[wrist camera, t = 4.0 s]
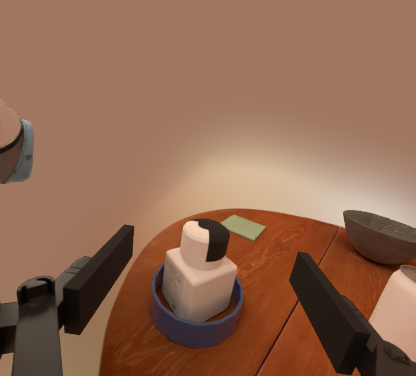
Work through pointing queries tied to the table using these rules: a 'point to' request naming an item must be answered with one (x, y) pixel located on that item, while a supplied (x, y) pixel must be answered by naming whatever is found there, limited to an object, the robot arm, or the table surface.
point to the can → (398, 311)
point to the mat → (243, 227)
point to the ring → (189, 330)
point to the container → (199, 272)
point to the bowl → (380, 237)
